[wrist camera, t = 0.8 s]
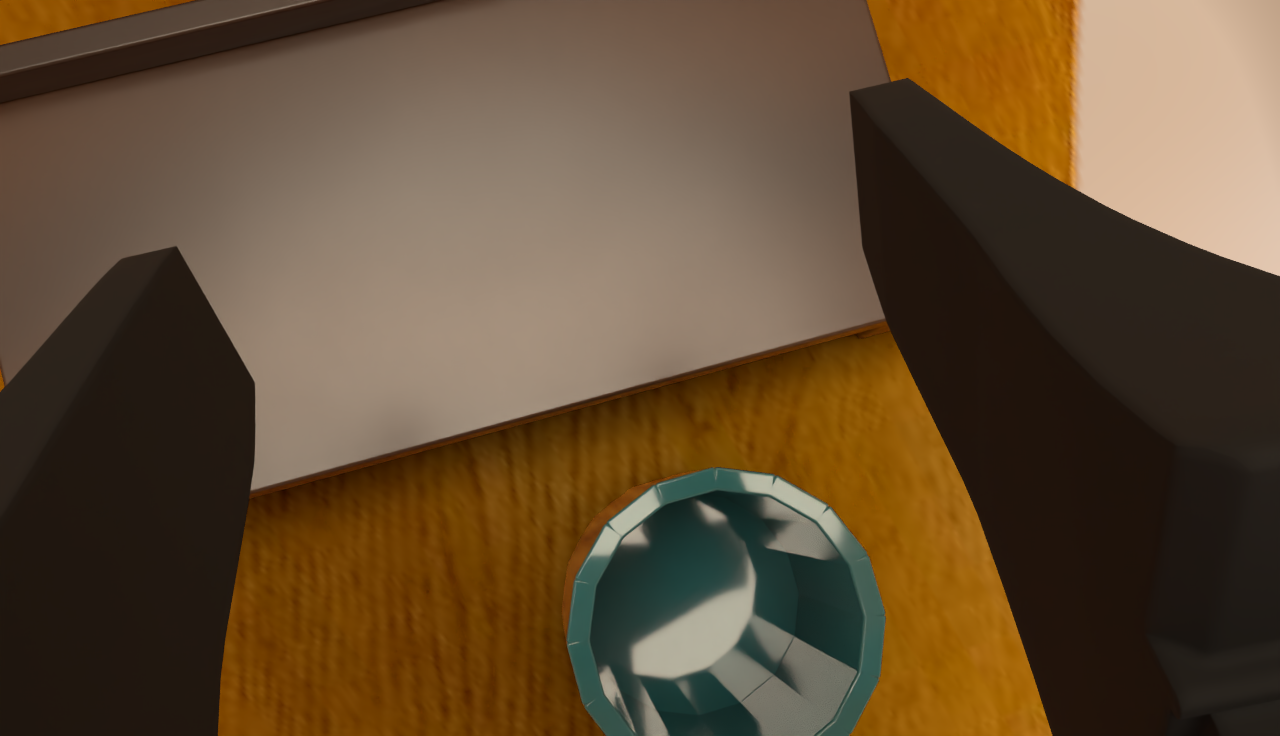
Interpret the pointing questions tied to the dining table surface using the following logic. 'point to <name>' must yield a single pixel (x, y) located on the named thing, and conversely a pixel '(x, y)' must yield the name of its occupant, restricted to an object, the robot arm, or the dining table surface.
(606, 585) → the cup
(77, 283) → the shelf
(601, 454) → the dining table surface
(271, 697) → the dining table surface
